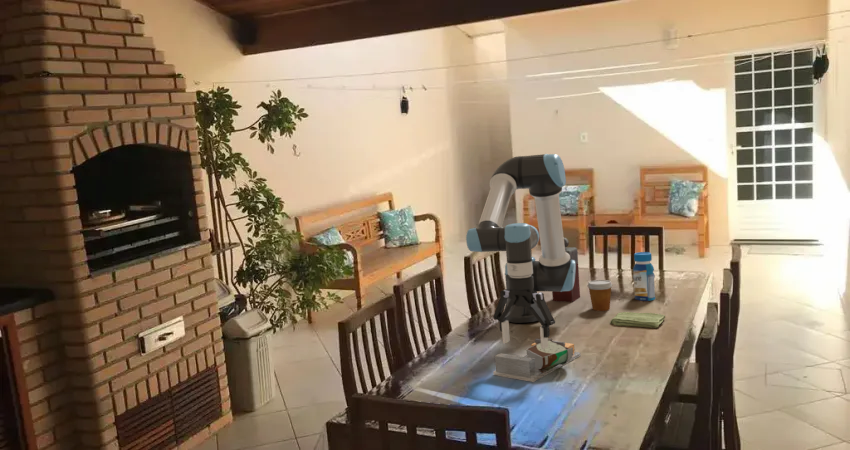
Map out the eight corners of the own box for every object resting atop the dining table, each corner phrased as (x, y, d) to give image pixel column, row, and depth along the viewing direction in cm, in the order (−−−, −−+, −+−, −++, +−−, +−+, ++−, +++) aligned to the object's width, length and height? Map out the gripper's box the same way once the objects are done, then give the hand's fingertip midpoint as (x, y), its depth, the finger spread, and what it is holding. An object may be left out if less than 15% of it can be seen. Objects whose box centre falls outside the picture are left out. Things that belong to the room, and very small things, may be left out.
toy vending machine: (582, 300, 296) (578, 235, 293) (573, 306, 286) (569, 239, 283) (562, 299, 301) (558, 235, 298) (552, 305, 291) (548, 239, 288)
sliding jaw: (531, 353, 223) (530, 339, 222) (541, 348, 227) (540, 334, 227) (565, 358, 215) (564, 344, 214) (574, 353, 219) (573, 339, 219)
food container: (548, 378, 203) (577, 367, 206) (545, 359, 201) (573, 348, 205) (526, 366, 214) (553, 355, 217) (523, 347, 213) (550, 337, 216)
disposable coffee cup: (600, 316, 267) (598, 285, 266) (583, 312, 276) (582, 282, 275) (619, 311, 272) (617, 281, 270) (602, 308, 280) (600, 278, 279)
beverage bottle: (658, 302, 281) (656, 253, 279) (637, 304, 282) (635, 255, 280) (652, 298, 290) (650, 250, 288) (631, 299, 290) (629, 252, 288)
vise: (493, 374, 209) (492, 355, 208) (542, 350, 230) (541, 332, 229) (533, 382, 199) (532, 361, 199) (580, 355, 220) (579, 337, 220)
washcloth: (659, 329, 244) (659, 320, 244) (609, 327, 253) (608, 318, 252) (666, 320, 255) (665, 311, 255) (617, 318, 264) (617, 310, 264)
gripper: (479, 275, 212) (484, 343, 214) (550, 280, 196) (555, 353, 198) (493, 271, 218) (498, 336, 220) (563, 275, 201) (568, 346, 204)
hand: (525, 345), depth 209 cm, fingers open, 13 cm apart
